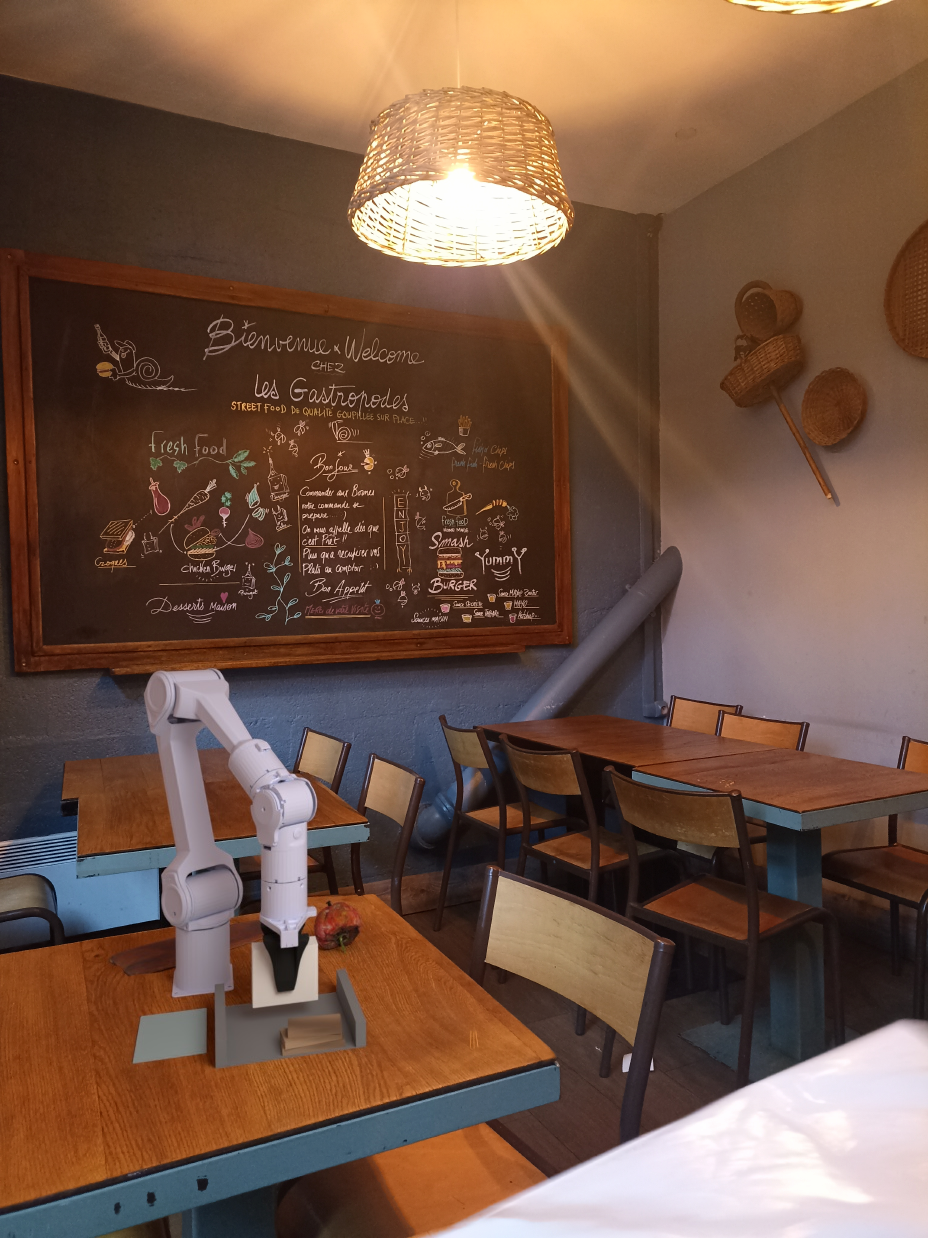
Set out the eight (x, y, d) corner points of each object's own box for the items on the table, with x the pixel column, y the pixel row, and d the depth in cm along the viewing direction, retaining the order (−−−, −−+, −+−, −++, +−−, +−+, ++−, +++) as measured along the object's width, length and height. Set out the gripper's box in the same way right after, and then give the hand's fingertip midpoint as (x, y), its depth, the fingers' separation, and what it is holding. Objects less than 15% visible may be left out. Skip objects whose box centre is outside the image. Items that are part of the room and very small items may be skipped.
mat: (140, 1021, 109) (140, 1016, 109) (206, 1012, 111) (206, 1008, 111) (132, 1067, 97) (132, 1062, 97) (206, 1057, 99) (206, 1052, 99)
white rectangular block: (251, 998, 109) (251, 942, 109) (315, 990, 111) (315, 936, 111) (252, 1008, 106) (252, 951, 106) (318, 1000, 108) (317, 944, 108)
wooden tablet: (134, 984, 122) (134, 972, 122) (105, 965, 129) (105, 953, 129) (293, 935, 141) (293, 924, 141) (260, 920, 148) (259, 910, 148)
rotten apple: (368, 964, 132) (355, 909, 140) (368, 937, 128) (355, 882, 135) (320, 975, 130) (310, 919, 138) (319, 948, 126) (308, 891, 133)
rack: (214, 1011, 111) (214, 984, 111) (345, 994, 116) (345, 968, 116) (215, 1073, 96) (215, 1041, 96) (366, 1050, 101) (365, 1020, 101)
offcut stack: (279, 1040, 102) (279, 1020, 102) (340, 1031, 104) (339, 1011, 104) (282, 1057, 98) (282, 1036, 98) (345, 1048, 100) (345, 1027, 100)
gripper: (323, 891, 103) (323, 1004, 103) (309, 859, 117) (310, 959, 116) (262, 896, 101) (263, 1012, 101) (256, 863, 115) (256, 965, 114)
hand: (284, 984), depth 108 cm, fingers closed on white rectangular block, 3 cm apart
